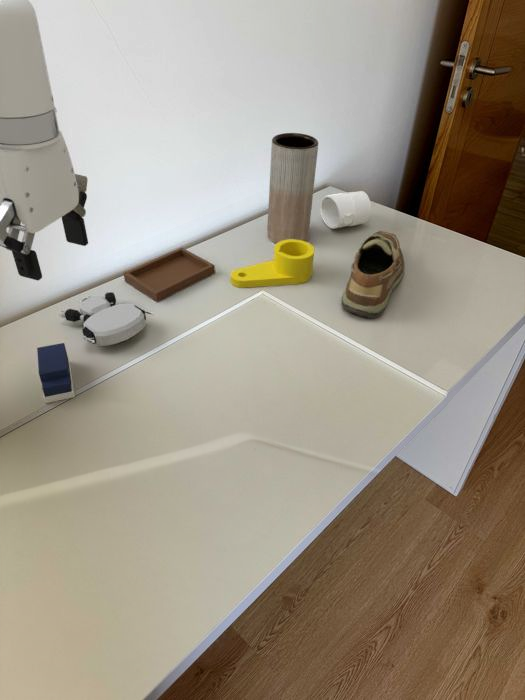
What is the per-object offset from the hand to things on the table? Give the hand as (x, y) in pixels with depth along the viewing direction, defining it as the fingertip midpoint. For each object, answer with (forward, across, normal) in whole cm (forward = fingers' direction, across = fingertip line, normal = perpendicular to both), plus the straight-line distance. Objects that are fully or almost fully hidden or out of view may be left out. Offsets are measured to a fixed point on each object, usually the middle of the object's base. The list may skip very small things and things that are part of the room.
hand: (55, 259), depth 70 cm
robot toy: (+24, -14, -6) cm, 28 cm away
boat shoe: (+24, -50, +37) cm, 66 cm away
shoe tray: (+23, -34, -3) cm, 42 cm away
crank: (+24, -44, +16) cm, 52 cm away
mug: (+24, -75, +24) cm, 82 cm away
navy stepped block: (+23, +1, -5) cm, 24 cm away
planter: (+24, -62, +13) cm, 68 cm away
